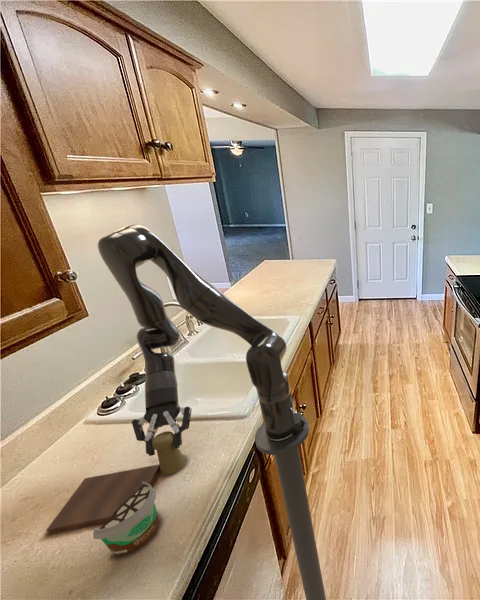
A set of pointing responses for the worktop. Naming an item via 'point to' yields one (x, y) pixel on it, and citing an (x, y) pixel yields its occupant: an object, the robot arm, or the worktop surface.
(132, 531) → the food container
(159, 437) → the cork
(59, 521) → the cutting board
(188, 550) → the worktop surface
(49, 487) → the worktop surface
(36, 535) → the worktop surface
